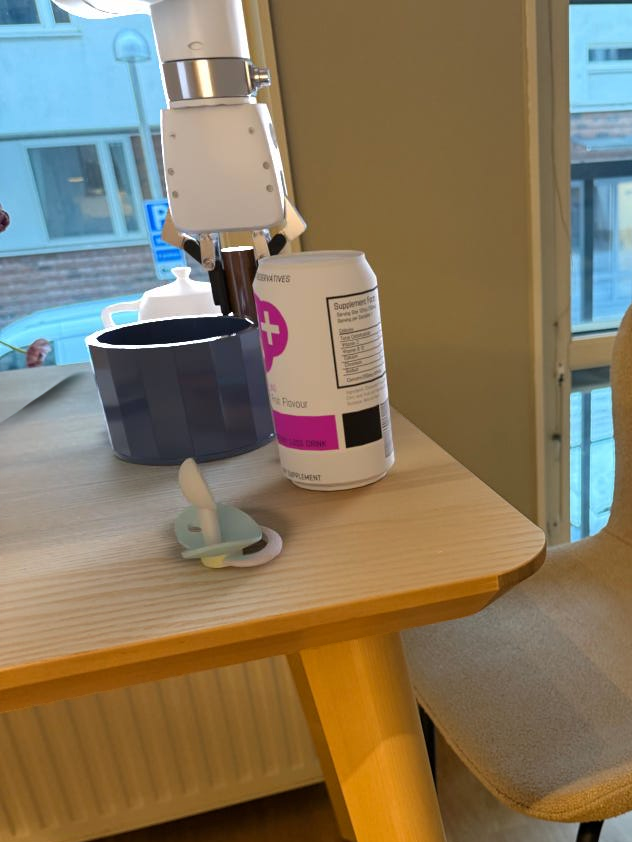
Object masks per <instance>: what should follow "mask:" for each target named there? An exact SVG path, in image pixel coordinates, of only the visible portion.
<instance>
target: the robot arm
mask: <svg viewBox="0 0 632 842" xmlns="http://www.w3.org/2000/svg"><path fill="white" fill-rule="evenodd" d="M51 1H52V2H53V3H54V4H56V5H57V6H58V7H59V8H61V9H63V11H66V12H68V13H70V14H72V15H75V16H78V17H82V18H85V19H92V20H93V19H95V20H97V19H98V20H100V19H101V20H102V19H108V18H114V17H121V16H127V15H135V14H147V15H149V17H150V22H151V26H152V31H153V36H154V43H155V47H156V53H157V57H158V62H159V69H160V73H161V80H162V86H163V90H164V95H165V99H166V100H165V101H166V105H167V108H164V109H160V135H161V136H160V137H161V151H162V160H163V161H162V162H163V170H164V179H165V186H166V192H167V193H166V194H167V201H168V208H167V210H166V211H167V212H166V215H165V218H164V222H163V225H162V228H161V233H160V239H161V241H162V242H163V243H166V244H168V245H170V246H172V247H174V248H177V249H179V250H182V251H183V252H185V253H186V254H188V256H190V257H192V259H194V260H195V261H196V262H197V263H198V264H200V265H201V266H202V268H203V270H204V271H207V272H208V273H207V274H208V279H209V280H208V281H209V283H210V285H211V290H212V296H213V301H214V304H215V306H220V308H221V313H222V315H229V314H231V313H232V311H231V305H230V299H229V294H228V288H227V283H226V277H225V271H224V266H223V260H222V256H221V247H220V235H219V233H220V234H222V233H236V232H247V231H248V232H250V236H251V240H252V242H253V248H254V252H255V256H256V265H257V268H255V269H254V274H255V276H256V273H257V270H258V266H259V263H258V260H260V259H262V258H265V257H270V256H275V255H281V252H282V251H283V250H284V248H285V247H286V246H287V245H288V244H289V243H291V242H292V241H294V240H296V239H297V238H299V236H301V235H302V234H303V233H305V232H306V230H307V229H308V228H307V224H306V222H305V220H304V219H303V217H302V216H301V214H300V213H299V211H298V210H297V208H296V206H295V205H294V204H293V202H292V201H291V199H290V197H289V196H288V190H287V184H286V178H285V174H284V168H283V163H282V158H281V154H280V149H279V144H278V140H277V135H276V132H275V128H274V125H273V121H272V117H271V115H270V114H271V113H270V111H269V108H268V105H267V103H262V102H260V103H258V101H257V97H258V92H259V90H260V89H263V88H266V87H267V88H268V87H271V85H272V82H271V81H272V80H271V75H270V70H269V68H268V67H267V68H260V67H259V66H256V65H254V64H253V61H251V55H250V48H249V44H248V43H249V41H248V37H247V29H246V22H245V17H244V16H245V15H244V10H243V3H242V0H51ZM284 222H285V224H286V225H285V226H284V228H283V229H281V230H280V231H278V232H276V234H274V235H273V236H272V238H271V234H270V230H269V229H273V228H275V227H278V226H279V225H281V224H283V223H284ZM188 234H189V235H190V234H191V235H198V236H199V237H198V238H199V240H198V239H197V238H195V237H192V236H189V235H188Z"/></svg>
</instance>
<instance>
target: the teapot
mask: <svg viewBox="0 0 632 842" xmlns="http://www.w3.org/2000/svg"><path fill="white" fill-rule="evenodd" d="M191 271H192V268H191V267H189V266H180V267H174V268H172V269H171V270H170V272H171V273H172V274H173V276H174V277H175V278H176V280H175V281H173V282H171V283H168V284H166V285H162V286H159V287H156V288H155V287H154V288H153V289H150V290H148V291H145V292H144V293H143V296H141V298H139V299H138V300H134V301H128V302H118V303H114V304H111V305H108V306H106V307H104V308H103V310H102V311H101V313H100V318H101V322H102V325H103V327H104V328H105V330H106V329H109V328H113V327H116V326H117V325H116V324H115V323H114V321H113V319H112V315H114V314H116V313H122V312H123V313H124V312H138V319H137V322H142V321H148V320H156V319H164V318H173V317H184V316H200V315H217V314H222V313H221V308H220V306H215V304H214V301H213V296H212V290H211V285H210V282H204V281H196V280H193V279H191V278H190V277H189V276H190V274H191Z"/></svg>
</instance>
